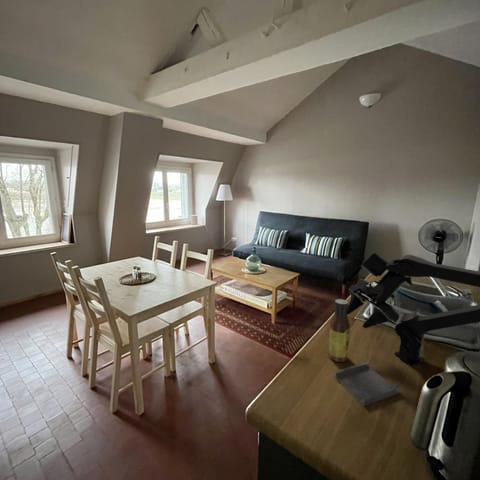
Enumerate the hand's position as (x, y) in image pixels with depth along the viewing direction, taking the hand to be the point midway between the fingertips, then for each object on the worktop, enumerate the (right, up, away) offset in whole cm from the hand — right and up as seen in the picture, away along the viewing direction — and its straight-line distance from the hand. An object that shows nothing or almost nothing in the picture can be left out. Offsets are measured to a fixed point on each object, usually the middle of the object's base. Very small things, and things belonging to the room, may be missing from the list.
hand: (354, 320), depth 88 cm
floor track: (-2, -15, -11) cm, 19 cm away
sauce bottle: (-5, -13, +1) cm, 14 cm away
